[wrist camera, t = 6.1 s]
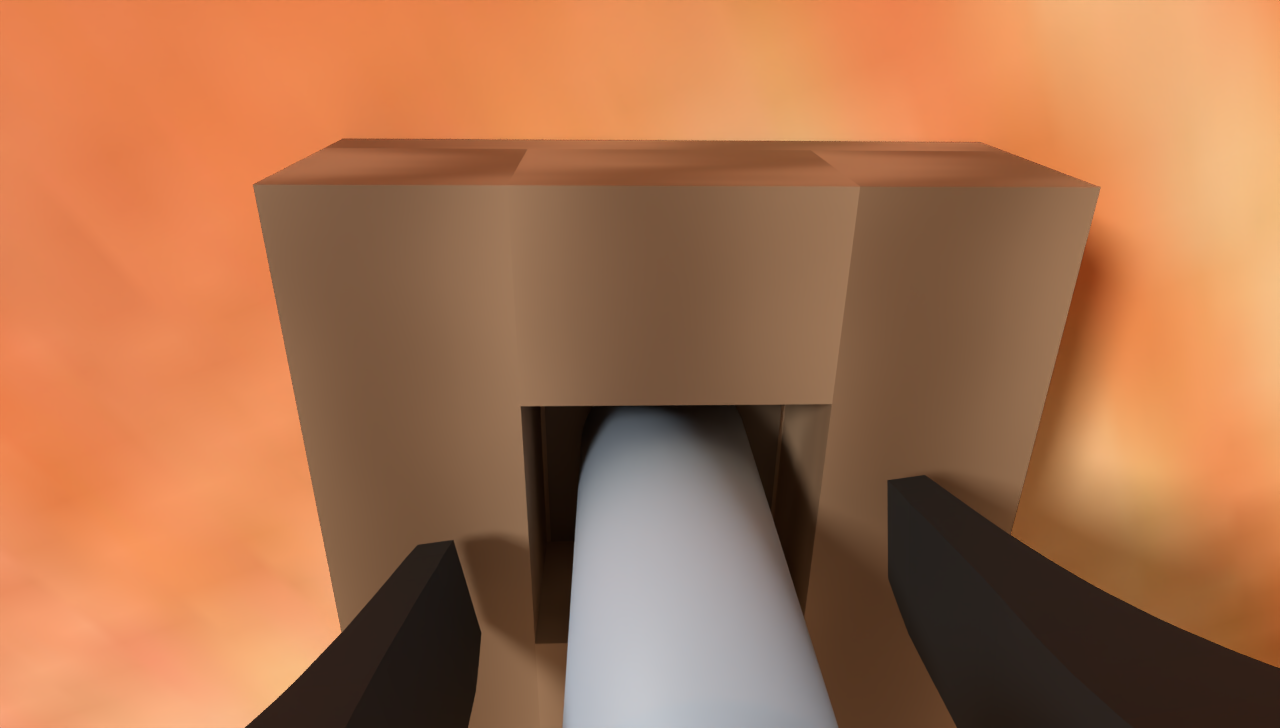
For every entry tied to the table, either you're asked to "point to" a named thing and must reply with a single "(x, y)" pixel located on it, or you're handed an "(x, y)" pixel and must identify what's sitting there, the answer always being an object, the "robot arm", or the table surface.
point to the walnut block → (665, 360)
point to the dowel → (682, 582)
